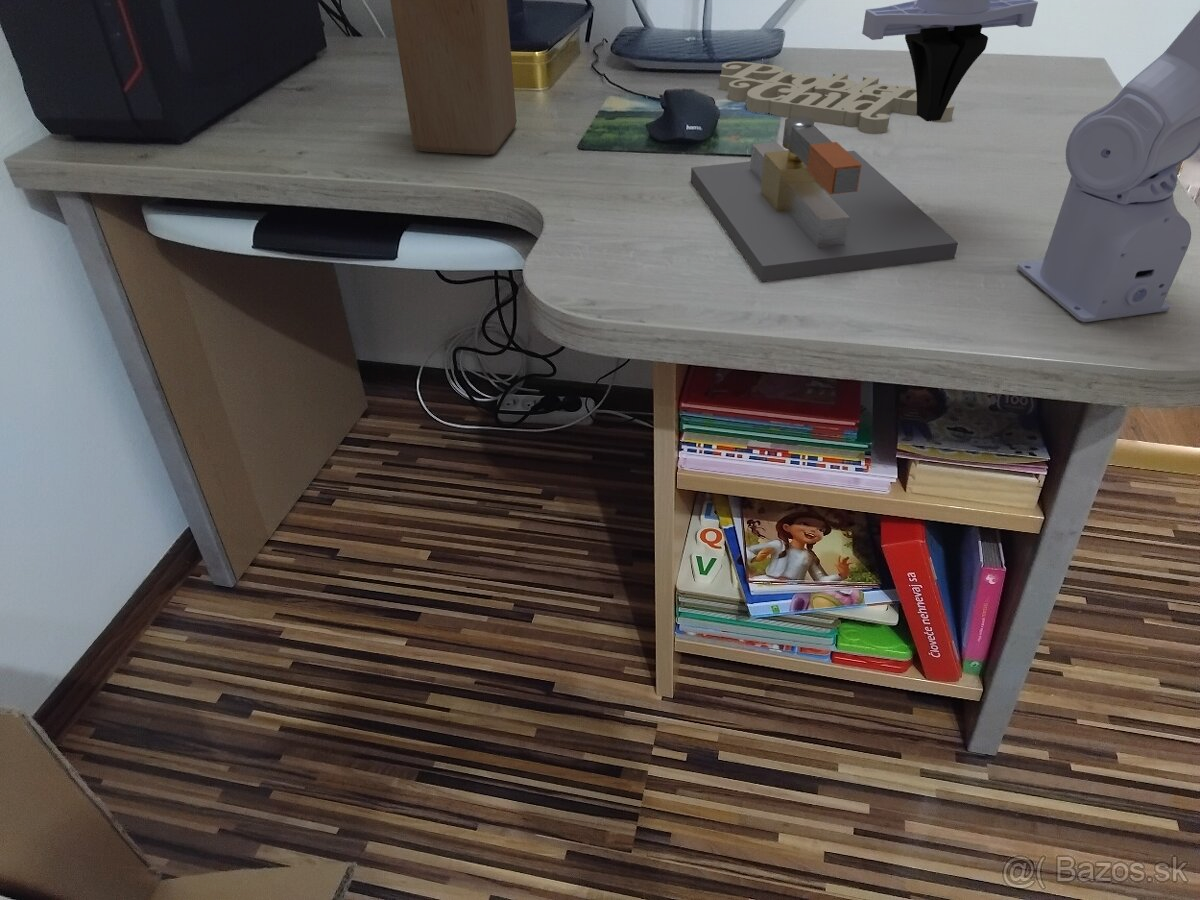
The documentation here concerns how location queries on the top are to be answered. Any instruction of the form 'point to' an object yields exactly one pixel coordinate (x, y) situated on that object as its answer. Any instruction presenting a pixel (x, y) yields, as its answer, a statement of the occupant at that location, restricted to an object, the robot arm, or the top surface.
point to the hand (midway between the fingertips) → (928, 117)
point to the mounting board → (782, 250)
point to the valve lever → (821, 156)
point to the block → (456, 73)
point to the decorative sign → (819, 96)
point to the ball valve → (798, 194)
